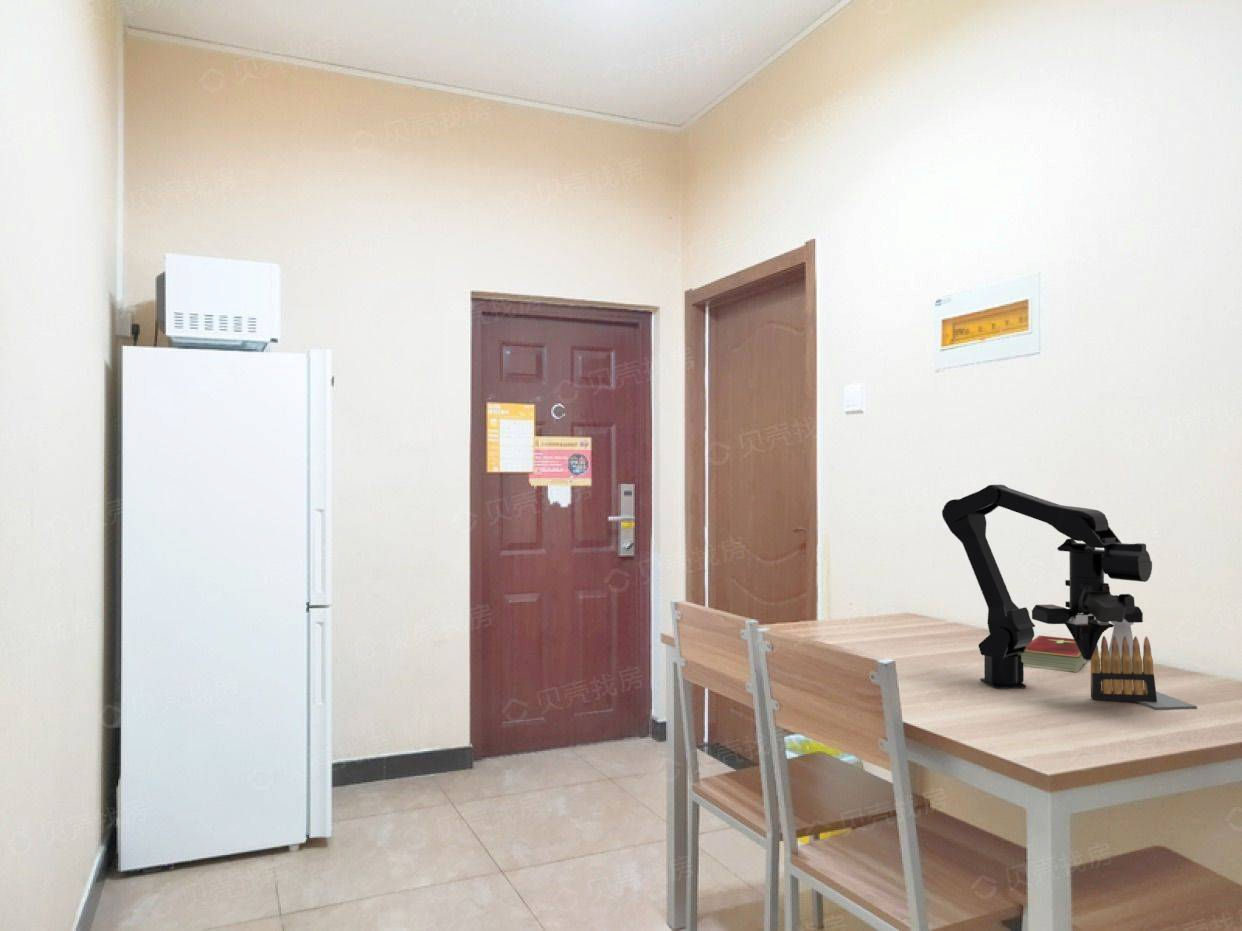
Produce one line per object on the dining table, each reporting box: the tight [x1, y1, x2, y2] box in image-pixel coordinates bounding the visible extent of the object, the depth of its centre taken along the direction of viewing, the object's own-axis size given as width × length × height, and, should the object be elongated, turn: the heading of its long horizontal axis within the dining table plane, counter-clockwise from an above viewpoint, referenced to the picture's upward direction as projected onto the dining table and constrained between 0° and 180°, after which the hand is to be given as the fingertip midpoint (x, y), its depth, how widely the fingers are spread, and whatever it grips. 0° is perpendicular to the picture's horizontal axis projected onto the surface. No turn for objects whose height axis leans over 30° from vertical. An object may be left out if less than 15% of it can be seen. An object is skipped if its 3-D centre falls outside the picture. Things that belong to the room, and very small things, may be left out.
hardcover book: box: [1019, 635, 1087, 673], centre depth 197 cm, size 12×21×4 cm, turn 143°
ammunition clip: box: [1089, 635, 1157, 702], centre depth 162 cm, size 11×2×12 cm, turn 71°
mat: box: [1133, 690, 1198, 711], centre depth 163 cm, size 8×12×1 cm, turn 5°
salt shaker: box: [1108, 619, 1134, 672], centre depth 183 cm, size 6×6×13 cm
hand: (1087, 659), depth 161 cm, fingers closed
